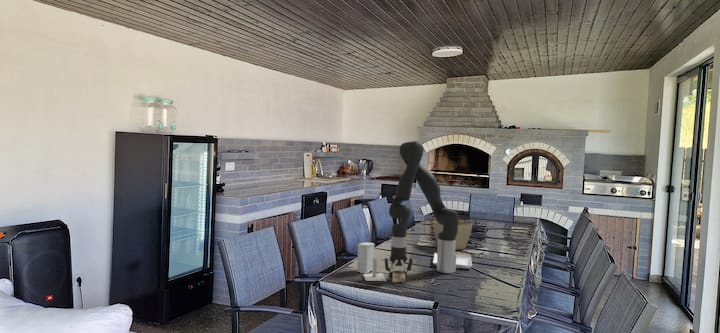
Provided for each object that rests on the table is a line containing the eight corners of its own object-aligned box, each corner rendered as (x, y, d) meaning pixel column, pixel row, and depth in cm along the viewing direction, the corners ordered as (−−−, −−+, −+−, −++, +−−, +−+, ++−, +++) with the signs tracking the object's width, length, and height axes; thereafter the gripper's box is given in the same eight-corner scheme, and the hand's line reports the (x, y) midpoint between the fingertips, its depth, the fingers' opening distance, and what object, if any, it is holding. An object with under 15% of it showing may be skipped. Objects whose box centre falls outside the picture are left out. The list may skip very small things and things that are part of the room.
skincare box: (366, 274, 221) (367, 245, 220) (356, 272, 224) (357, 244, 223) (374, 270, 228) (375, 242, 228) (364, 268, 231) (365, 241, 231)
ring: (402, 278, 216) (402, 270, 216) (405, 282, 210) (405, 273, 210) (390, 278, 216) (390, 270, 215) (392, 282, 210) (393, 274, 209)
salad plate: (472, 271, 233) (472, 265, 233) (432, 268, 237) (432, 261, 237) (470, 261, 254) (471, 255, 253) (434, 258, 258) (434, 252, 258)
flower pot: (430, 245, 289) (431, 220, 288) (454, 243, 297) (455, 219, 296) (448, 252, 271) (449, 225, 271) (472, 250, 279) (473, 224, 279)
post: (382, 275, 220) (383, 256, 220) (386, 281, 210) (386, 261, 210) (363, 275, 219) (363, 256, 219) (365, 281, 209) (366, 261, 209)
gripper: (411, 243, 217) (410, 276, 218) (383, 243, 215) (382, 276, 216) (415, 247, 209) (413, 281, 210) (385, 247, 208) (384, 281, 208)
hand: (397, 278), depth 213 cm, fingers closed on ring, 6 cm apart
